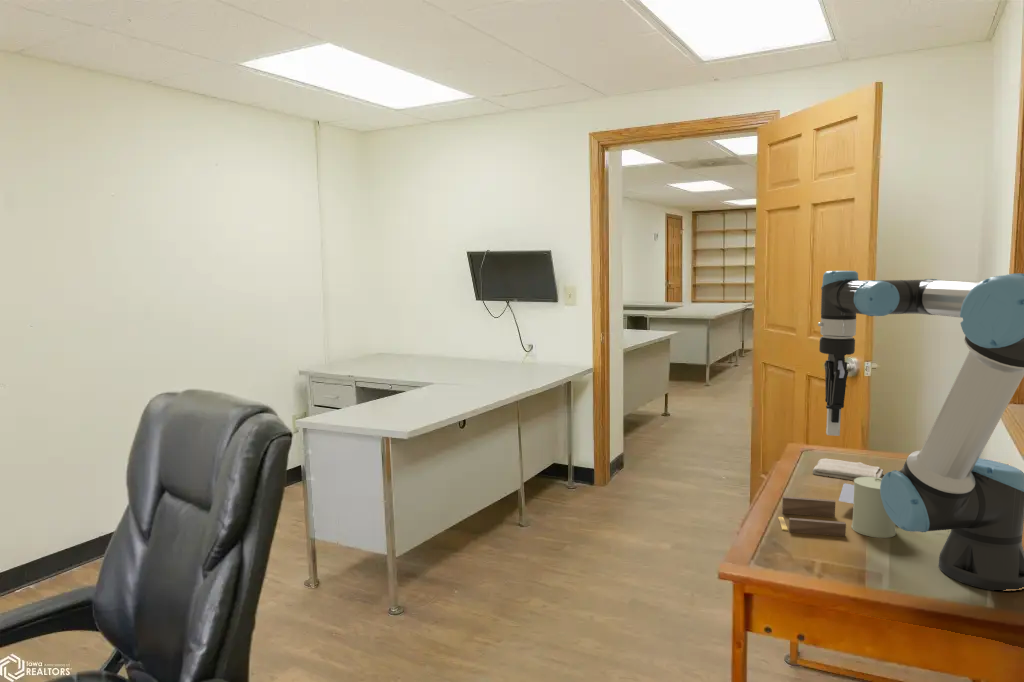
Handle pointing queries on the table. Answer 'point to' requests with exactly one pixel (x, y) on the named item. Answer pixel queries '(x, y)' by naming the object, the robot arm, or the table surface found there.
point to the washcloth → (845, 469)
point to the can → (870, 509)
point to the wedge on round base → (847, 493)
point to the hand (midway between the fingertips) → (832, 434)
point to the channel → (813, 509)
